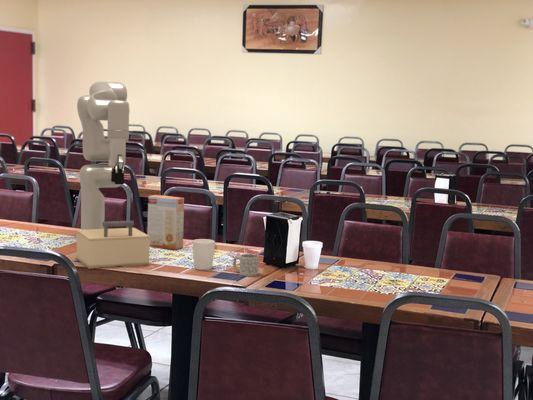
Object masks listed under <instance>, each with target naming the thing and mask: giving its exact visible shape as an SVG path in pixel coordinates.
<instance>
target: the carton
mask: <svg viewBox="0 0 533 400" xmlns="http://www.w3.org/2000/svg"><path fill="white" fill-rule="evenodd" d="M150 247H151V246H150V238H133V239H110V240H88V239H86V238H85V237H84V236H82V235H81V234H79V233H78V232H77V231H76V250H75V251H76V252H75V253H76V255H75V257H76V260H78V262H80V263H81V264H82V263H83V264H82V265H83V266H84V267H86V268H87V269H88V270H91V269H94V268H95V269H99V268H98V267H111V268H118V267H117V266H127V267H139V266H140V267H141V266H150ZM115 266H116V267H115ZM95 269H94V270H95Z"/></svg>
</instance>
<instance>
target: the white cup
mask: <svg viewBox="0 0 533 400" xmlns="http://www.w3.org/2000/svg"><path fill="white" fill-rule="evenodd" d="M215 244H216V241H215V240H213V239H210V238H207V239H206V238H199V239H196V238H195V239H194V240H192V256H193V257H192V259H193V268H194V269H195V270H199V271H208V270H209V271H210V270H212V269H213V265H214V259H215V258H214V256H215Z"/></svg>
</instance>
